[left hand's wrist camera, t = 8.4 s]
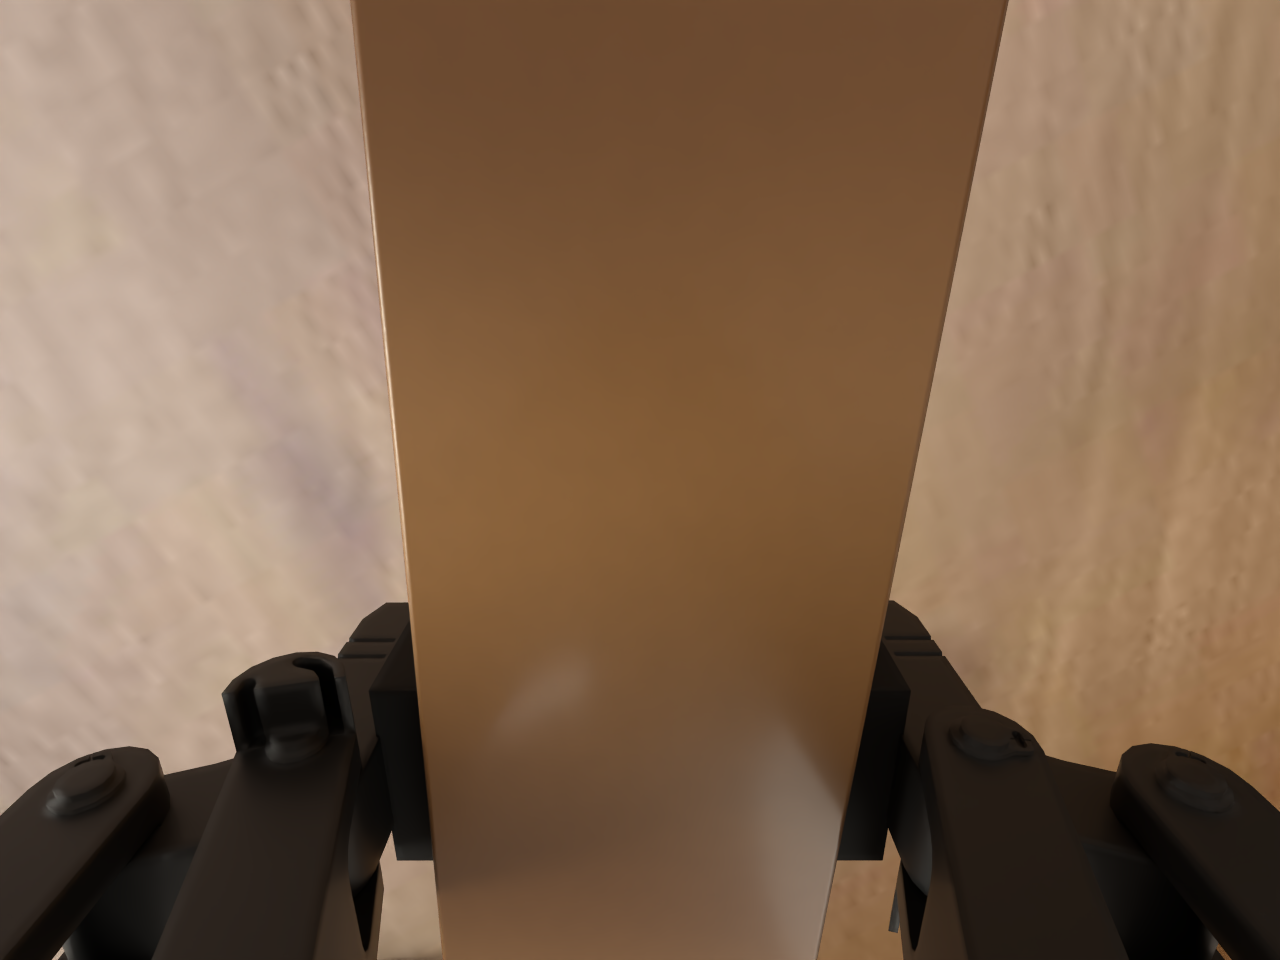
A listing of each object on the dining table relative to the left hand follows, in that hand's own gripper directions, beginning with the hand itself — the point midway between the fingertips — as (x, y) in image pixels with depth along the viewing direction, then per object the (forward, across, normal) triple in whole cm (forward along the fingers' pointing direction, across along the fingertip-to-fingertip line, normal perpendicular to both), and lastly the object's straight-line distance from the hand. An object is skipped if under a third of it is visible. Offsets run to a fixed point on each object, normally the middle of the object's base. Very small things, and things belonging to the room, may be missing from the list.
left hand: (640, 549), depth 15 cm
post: (0, -1, -26) cm, 26 cm away
